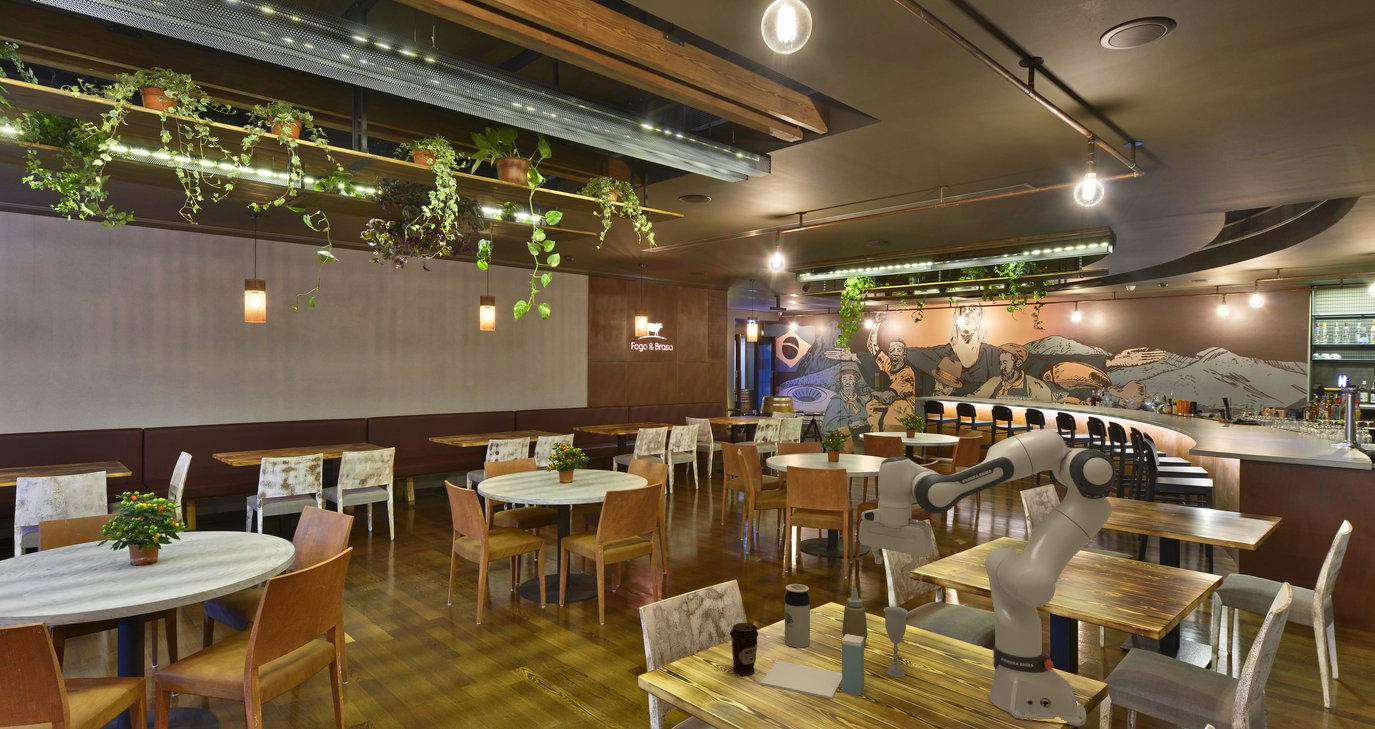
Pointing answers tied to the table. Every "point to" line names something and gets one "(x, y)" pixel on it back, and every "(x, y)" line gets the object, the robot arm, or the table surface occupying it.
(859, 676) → the long block
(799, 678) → the mat
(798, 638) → the travel mug
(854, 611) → the squeeze bottle
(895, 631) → the chalice
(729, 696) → the table surface
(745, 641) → the coffee cup
